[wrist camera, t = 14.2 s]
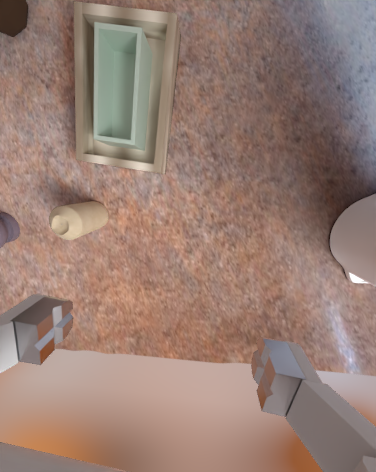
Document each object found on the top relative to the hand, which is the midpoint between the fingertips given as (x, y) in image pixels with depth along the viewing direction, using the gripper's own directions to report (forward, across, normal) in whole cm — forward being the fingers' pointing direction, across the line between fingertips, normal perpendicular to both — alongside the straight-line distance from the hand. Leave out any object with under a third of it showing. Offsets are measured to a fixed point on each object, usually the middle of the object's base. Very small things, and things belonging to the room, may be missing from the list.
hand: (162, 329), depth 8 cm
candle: (+29, +20, +3) cm, 36 cm away
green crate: (+28, +14, -17) cm, 36 cm away
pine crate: (+29, +14, -17) cm, 36 cm away
